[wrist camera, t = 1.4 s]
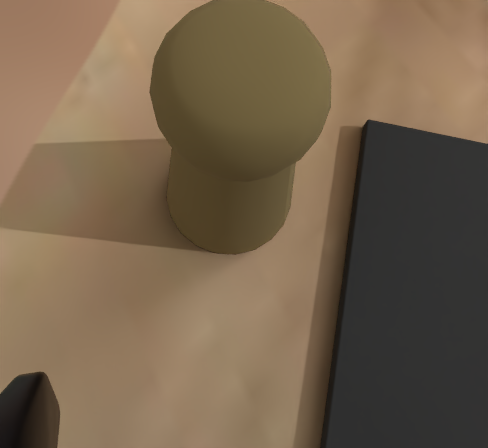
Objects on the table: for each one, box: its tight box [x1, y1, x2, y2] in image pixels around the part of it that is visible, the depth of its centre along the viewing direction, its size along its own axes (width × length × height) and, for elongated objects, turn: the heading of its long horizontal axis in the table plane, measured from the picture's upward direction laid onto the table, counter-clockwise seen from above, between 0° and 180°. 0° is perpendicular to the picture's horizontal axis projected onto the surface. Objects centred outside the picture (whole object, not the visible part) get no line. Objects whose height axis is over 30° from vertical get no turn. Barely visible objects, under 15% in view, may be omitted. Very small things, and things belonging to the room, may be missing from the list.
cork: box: [150, 0, 331, 254], centre depth 17 cm, size 6×6×11 cm
